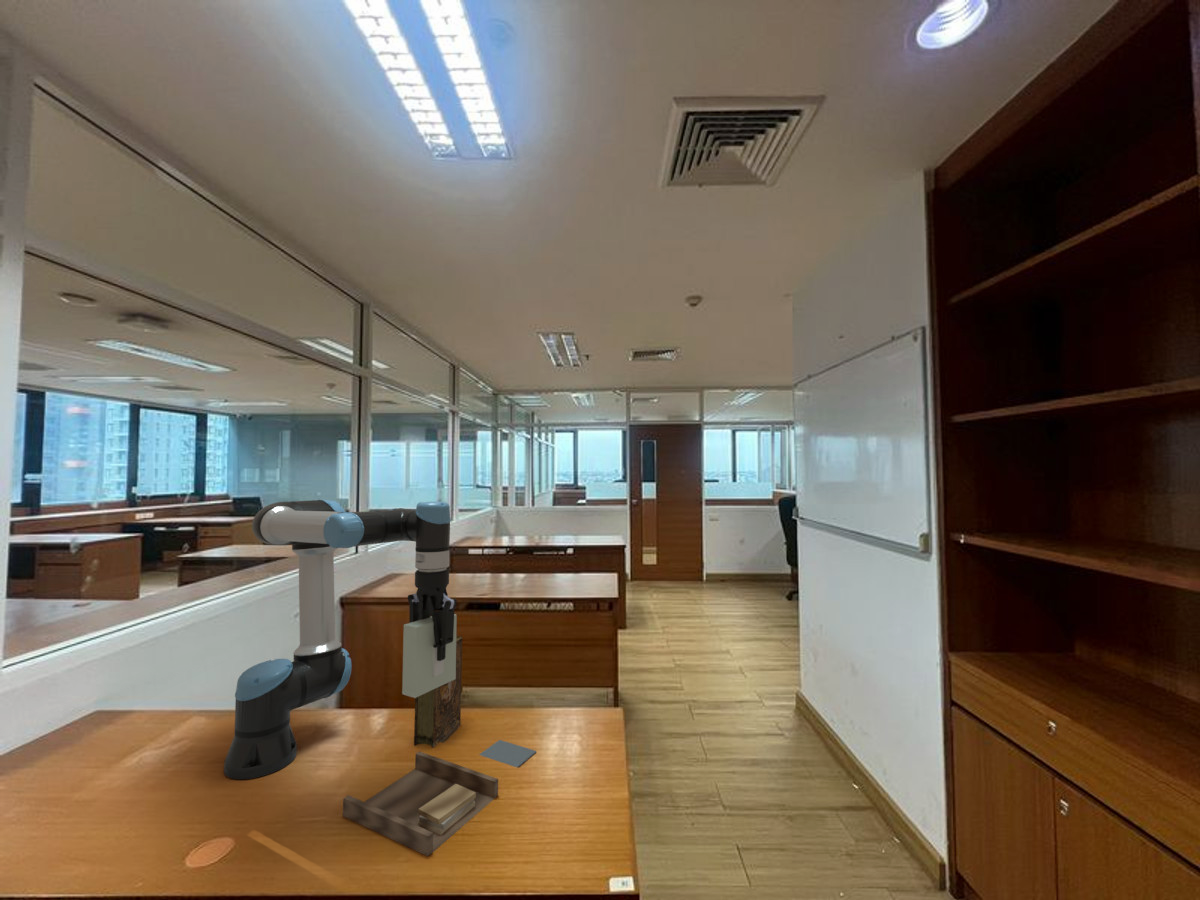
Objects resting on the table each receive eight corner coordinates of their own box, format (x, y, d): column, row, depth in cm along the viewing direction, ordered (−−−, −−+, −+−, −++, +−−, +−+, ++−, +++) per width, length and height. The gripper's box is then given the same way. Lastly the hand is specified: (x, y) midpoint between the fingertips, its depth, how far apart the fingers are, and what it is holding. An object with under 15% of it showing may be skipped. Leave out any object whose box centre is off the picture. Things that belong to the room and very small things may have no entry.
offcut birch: (418, 825, 103) (418, 820, 103) (453, 797, 112) (453, 793, 112) (440, 835, 100) (440, 829, 100) (475, 806, 109) (475, 801, 109)
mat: (452, 775, 122) (452, 774, 122) (499, 741, 138) (499, 739, 138) (491, 790, 117) (491, 788, 117) (536, 752, 133) (536, 751, 133)
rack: (342, 823, 105) (343, 798, 106) (418, 772, 123) (419, 751, 124) (427, 864, 94) (428, 836, 95) (497, 802, 112) (498, 779, 113)
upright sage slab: (402, 694, 112) (403, 624, 113) (443, 675, 122) (444, 612, 123) (414, 698, 110) (416, 627, 111) (455, 678, 120) (456, 614, 121)
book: (445, 721, 149) (447, 634, 150) (462, 723, 148) (464, 636, 149) (413, 751, 133) (416, 653, 134) (432, 754, 132) (435, 655, 133)
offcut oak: (418, 813, 103) (418, 808, 103) (455, 788, 112) (455, 783, 112) (438, 824, 100) (438, 819, 100) (475, 797, 109) (475, 792, 109)
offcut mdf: (419, 821, 102) (419, 816, 102) (451, 793, 112) (451, 788, 112) (443, 829, 100) (443, 824, 100) (474, 799, 109) (474, 795, 109)
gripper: (393, 568, 119) (391, 670, 117) (447, 575, 110) (445, 685, 109) (419, 563, 125) (417, 660, 124) (471, 569, 117) (470, 673, 116)
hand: (430, 672), depth 116 cm, fingers closed on upright sage slab, 4 cm apart
